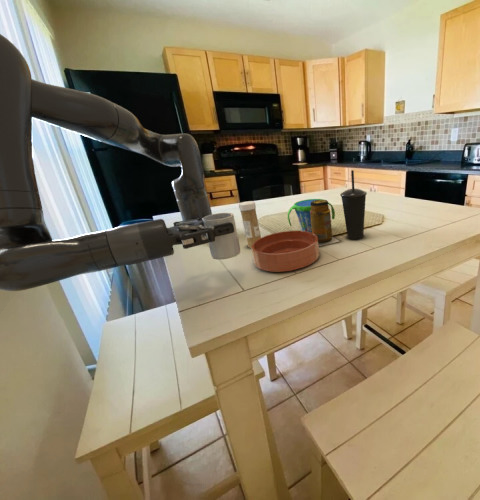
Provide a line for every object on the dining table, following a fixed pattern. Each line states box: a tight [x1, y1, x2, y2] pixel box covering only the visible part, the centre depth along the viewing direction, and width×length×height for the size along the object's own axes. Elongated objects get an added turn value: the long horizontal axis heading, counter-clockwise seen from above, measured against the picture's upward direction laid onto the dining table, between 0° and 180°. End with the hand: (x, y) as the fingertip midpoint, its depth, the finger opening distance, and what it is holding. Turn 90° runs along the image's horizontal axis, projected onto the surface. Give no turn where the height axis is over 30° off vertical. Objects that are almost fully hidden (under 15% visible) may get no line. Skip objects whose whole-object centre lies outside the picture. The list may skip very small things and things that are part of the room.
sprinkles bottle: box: [238, 200, 262, 249], centre depth 81 cm, size 5×5×13 cm
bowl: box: [250, 230, 320, 273], centre depth 71 cm, size 17×17×5 cm
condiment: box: [310, 199, 340, 247], centre depth 81 cm, size 7×8×12 cm
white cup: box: [203, 212, 241, 261], centre depth 61 cm, size 6×6×9 cm
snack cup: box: [287, 198, 336, 233], centre depth 90 cm, size 16×10×10 cm
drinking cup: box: [340, 170, 368, 241], centre depth 80 cm, size 8×8×20 cm
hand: (228, 223), depth 61 cm, fingers closed on white cup, 6 cm apart
